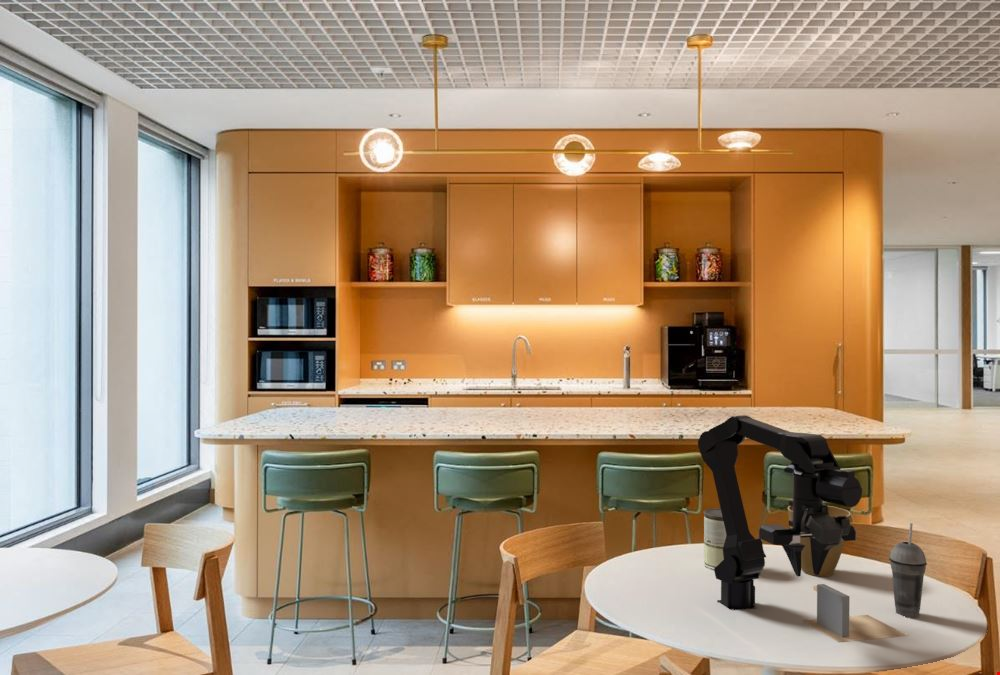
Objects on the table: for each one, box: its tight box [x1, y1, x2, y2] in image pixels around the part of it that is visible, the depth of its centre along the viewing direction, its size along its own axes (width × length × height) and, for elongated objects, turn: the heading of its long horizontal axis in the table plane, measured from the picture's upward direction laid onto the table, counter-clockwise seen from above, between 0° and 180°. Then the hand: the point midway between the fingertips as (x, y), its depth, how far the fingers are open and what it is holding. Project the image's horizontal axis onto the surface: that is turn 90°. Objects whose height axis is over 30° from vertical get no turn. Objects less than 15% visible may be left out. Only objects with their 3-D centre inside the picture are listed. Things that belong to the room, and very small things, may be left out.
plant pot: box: [787, 505, 851, 577], centre depth 202 cm, size 15×15×16 cm
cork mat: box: [801, 614, 910, 643], centre depth 162 cm, size 16×12×1 cm
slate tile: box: [816, 583, 851, 637], centre depth 161 cm, size 2×8×8 cm, turn 14°
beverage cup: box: [888, 522, 928, 618], centre depth 172 cm, size 7×7×20 cm
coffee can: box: [703, 508, 726, 570], centre depth 207 cm, size 10×10×14 cm
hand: (807, 575), depth 159 cm, fingers open, 4 cm apart
